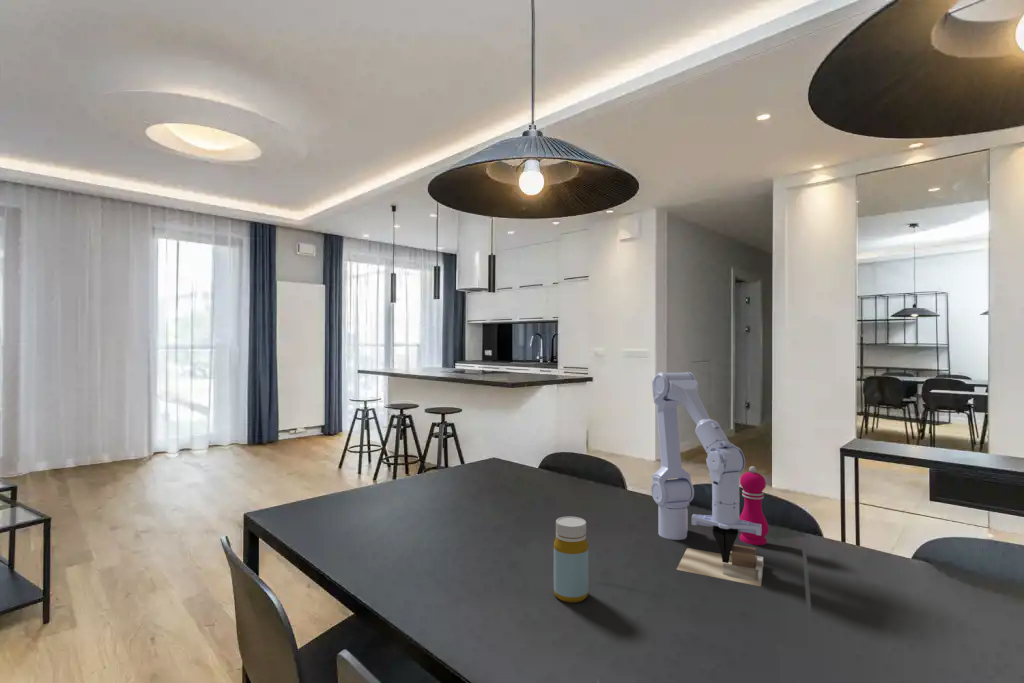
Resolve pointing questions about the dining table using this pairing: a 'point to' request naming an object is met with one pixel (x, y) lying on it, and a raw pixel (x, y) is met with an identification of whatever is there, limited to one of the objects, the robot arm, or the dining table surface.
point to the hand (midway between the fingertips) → (725, 561)
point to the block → (744, 556)
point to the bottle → (571, 560)
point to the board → (720, 567)
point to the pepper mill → (753, 506)
